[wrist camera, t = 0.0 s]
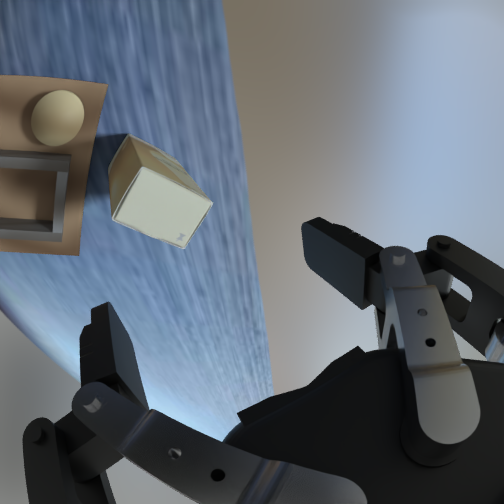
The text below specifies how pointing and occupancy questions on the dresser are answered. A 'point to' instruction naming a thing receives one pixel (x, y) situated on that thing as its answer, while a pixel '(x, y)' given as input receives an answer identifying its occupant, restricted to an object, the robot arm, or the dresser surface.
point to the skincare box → (154, 193)
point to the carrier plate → (45, 161)
